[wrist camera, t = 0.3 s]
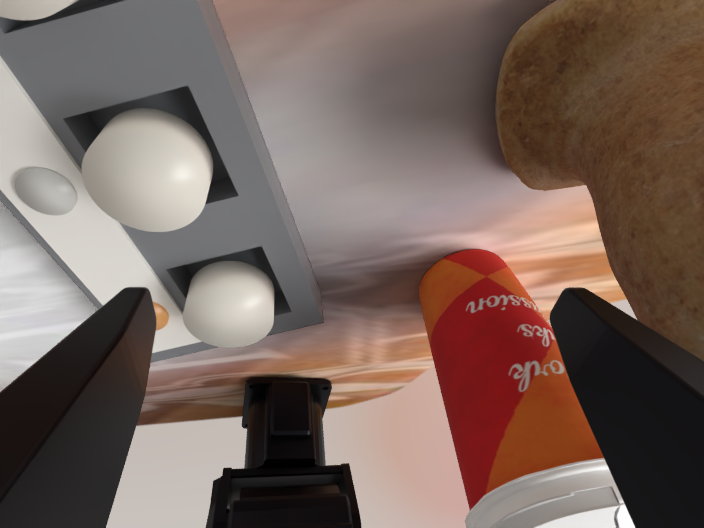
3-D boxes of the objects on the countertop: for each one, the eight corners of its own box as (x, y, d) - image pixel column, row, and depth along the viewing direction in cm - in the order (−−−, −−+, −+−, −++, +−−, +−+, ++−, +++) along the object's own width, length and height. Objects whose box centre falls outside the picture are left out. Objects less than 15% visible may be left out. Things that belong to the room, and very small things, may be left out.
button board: (321, 292, 28) (324, 327, 25) (156, 331, 28) (146, 368, 26) (96, -309, 12) (53, -353, 10) (-268, -193, 12) (-387, -211, 10)
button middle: (229, 191, 19) (225, 217, 18) (136, 215, 20) (124, 242, 18) (184, 95, 16) (174, 116, 15) (75, 124, 17) (54, 147, 15)
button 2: (285, 309, 25) (285, 337, 23) (210, 326, 25) (206, 355, 23) (257, 251, 22) (255, 279, 20) (174, 272, 22) (166, 300, 20)
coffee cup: (547, 276, 29) (713, 523, 18) (449, 340, 32) (537, 582, 21) (478, 208, 25) (640, 477, 13) (373, 290, 28) (433, 561, 17)
